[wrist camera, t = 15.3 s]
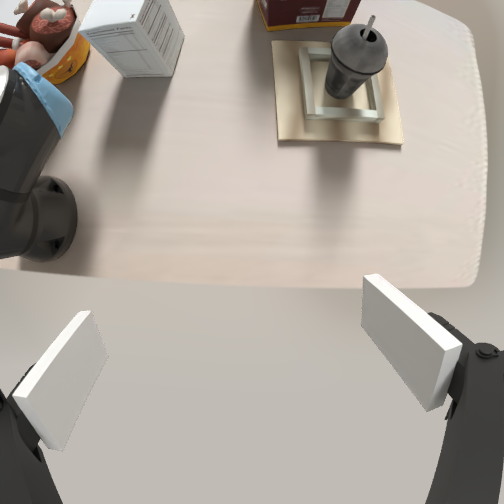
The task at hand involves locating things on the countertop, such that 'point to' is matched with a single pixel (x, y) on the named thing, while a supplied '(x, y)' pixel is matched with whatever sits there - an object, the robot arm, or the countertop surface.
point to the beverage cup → (354, 58)
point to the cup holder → (330, 99)
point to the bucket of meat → (45, 40)
